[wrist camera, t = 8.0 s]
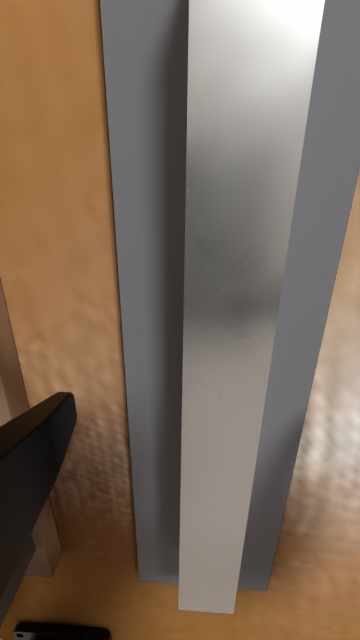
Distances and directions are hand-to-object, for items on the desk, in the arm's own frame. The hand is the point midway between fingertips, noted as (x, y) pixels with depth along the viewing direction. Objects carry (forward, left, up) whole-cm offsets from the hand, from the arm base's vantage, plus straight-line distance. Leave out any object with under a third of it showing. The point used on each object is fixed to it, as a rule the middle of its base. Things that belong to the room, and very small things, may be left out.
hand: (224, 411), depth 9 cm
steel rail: (0, 0, -2) cm, 2 cm away
